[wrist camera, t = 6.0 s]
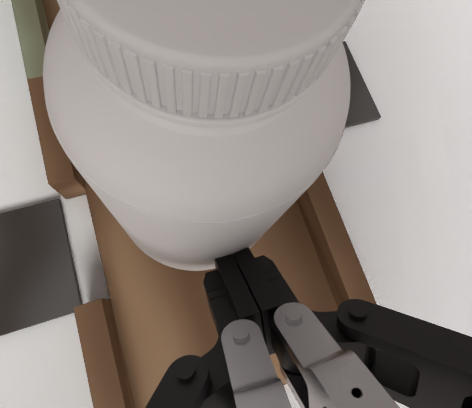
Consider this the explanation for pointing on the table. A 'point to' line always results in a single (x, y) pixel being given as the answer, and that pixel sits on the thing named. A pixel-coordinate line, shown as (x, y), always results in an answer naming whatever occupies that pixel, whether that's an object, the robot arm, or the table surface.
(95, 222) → the lane
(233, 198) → the pill bottle
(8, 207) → the table surface
